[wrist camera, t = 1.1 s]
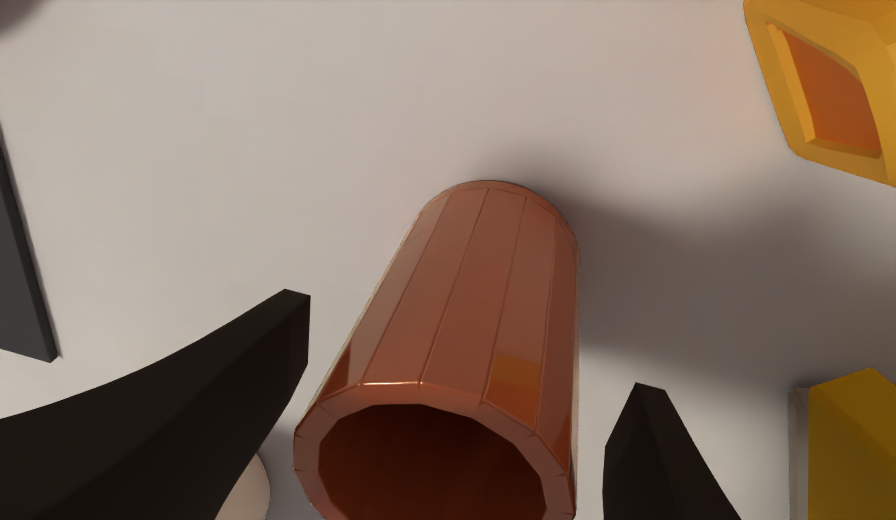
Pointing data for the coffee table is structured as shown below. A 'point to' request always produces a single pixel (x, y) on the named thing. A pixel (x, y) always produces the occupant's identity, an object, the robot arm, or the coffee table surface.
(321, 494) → the terracotta cup
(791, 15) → the yellow toy drill
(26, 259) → the mat
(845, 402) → the yellow framed monitor
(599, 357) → the coffee table surface
